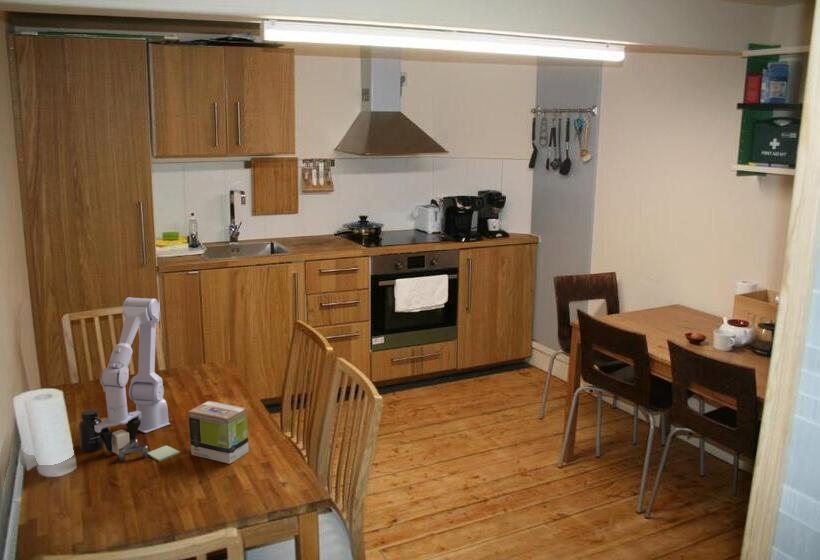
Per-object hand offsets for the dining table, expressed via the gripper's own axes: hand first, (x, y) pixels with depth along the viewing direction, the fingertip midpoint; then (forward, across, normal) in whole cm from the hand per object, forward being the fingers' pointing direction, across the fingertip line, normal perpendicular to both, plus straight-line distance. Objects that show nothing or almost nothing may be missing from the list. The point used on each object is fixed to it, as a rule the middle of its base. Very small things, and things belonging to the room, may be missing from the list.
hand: (120, 446), depth 231 cm
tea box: (+2, +18, -25) cm, 31 cm away
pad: (+2, +7, -12) cm, 14 cm away
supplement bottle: (+2, -4, +9) cm, 10 cm away
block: (+2, 0, 0) cm, 2 cm away
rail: (+2, 0, -6) cm, 6 cm away
